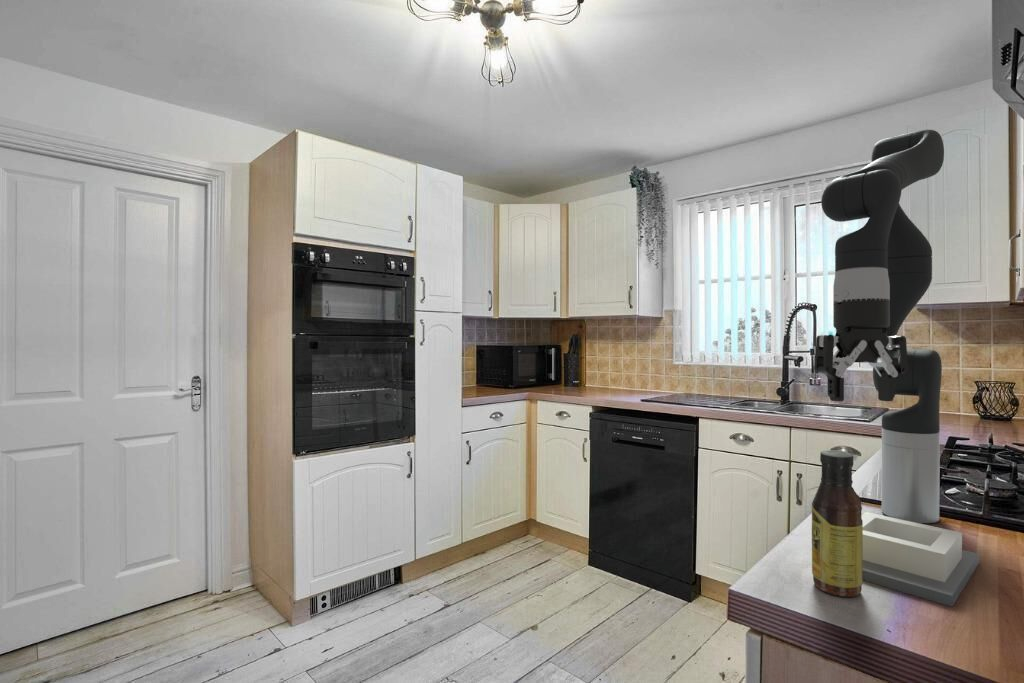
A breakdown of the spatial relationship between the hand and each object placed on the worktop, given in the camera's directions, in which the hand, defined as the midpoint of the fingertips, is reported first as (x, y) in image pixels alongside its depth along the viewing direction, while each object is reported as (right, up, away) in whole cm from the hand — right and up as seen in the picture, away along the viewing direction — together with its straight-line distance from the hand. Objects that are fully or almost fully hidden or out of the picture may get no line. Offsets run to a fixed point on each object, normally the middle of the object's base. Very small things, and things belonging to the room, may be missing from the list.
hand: (861, 401), depth 84 cm
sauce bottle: (-9, -27, -8) cm, 29 cm away
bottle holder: (+6, -26, 0) cm, 27 cm away
